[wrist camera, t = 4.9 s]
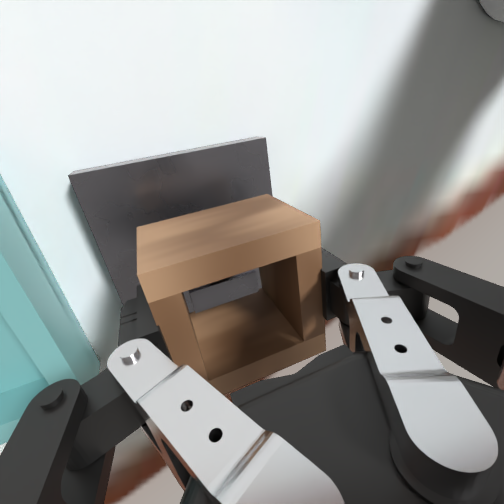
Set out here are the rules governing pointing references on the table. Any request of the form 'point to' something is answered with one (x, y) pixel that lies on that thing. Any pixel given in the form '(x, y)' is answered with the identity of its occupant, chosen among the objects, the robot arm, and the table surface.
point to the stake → (171, 206)
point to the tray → (33, 322)
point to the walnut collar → (243, 309)
